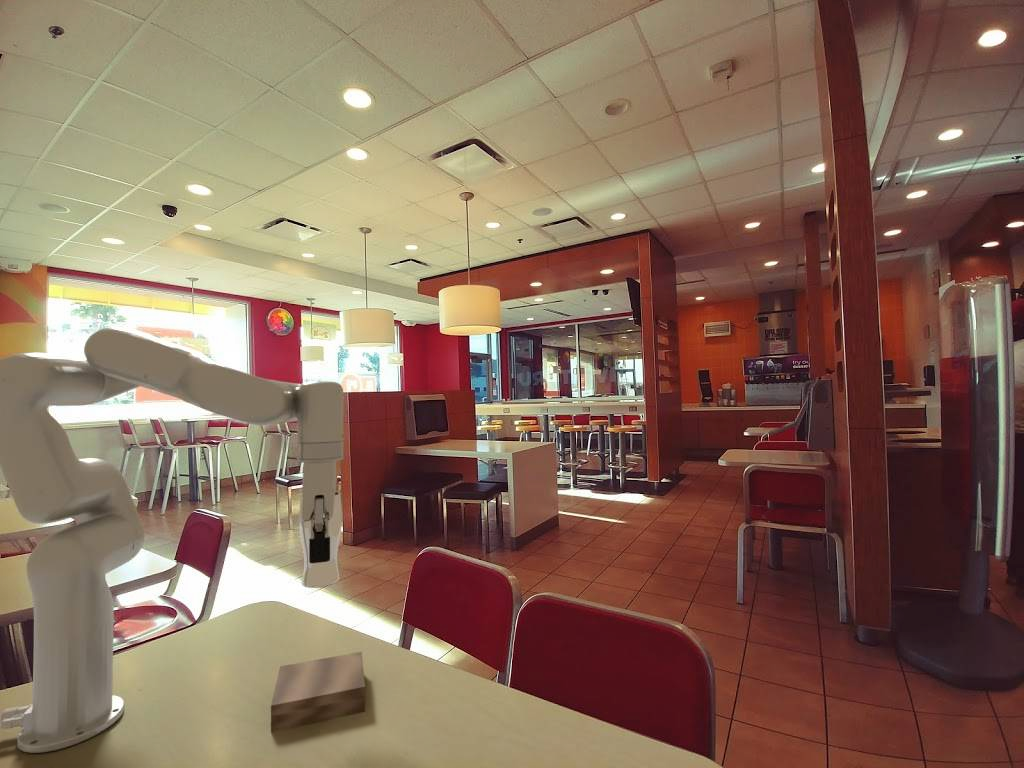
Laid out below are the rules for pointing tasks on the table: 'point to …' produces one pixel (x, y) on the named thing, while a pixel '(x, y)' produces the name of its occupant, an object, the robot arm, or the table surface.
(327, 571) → the beer glass
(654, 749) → the table surface
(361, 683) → the walnut shelf
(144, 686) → the table surface
